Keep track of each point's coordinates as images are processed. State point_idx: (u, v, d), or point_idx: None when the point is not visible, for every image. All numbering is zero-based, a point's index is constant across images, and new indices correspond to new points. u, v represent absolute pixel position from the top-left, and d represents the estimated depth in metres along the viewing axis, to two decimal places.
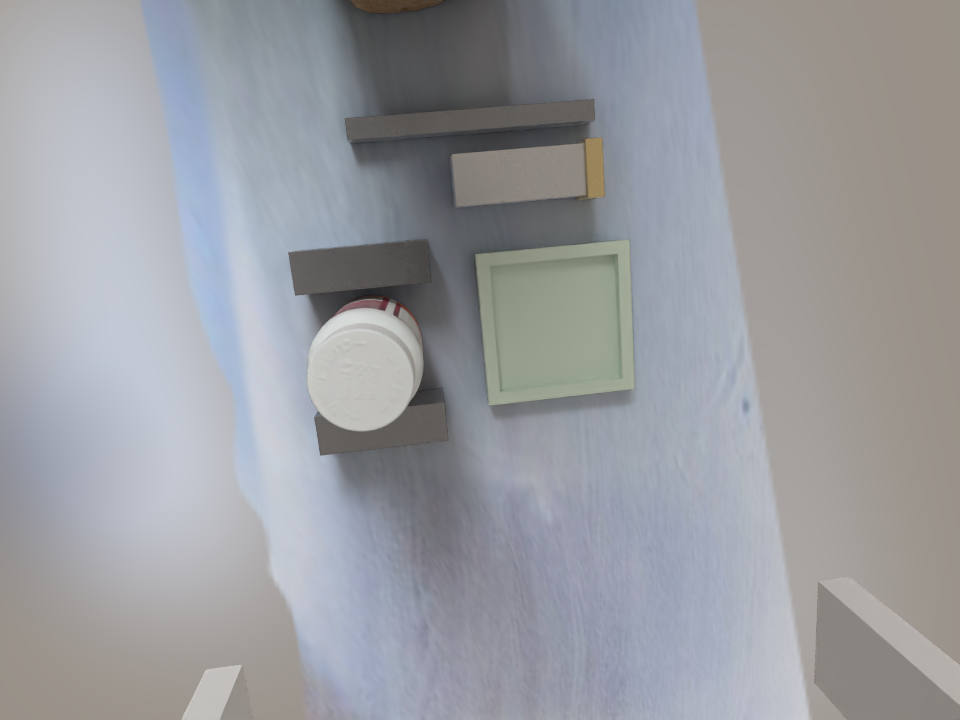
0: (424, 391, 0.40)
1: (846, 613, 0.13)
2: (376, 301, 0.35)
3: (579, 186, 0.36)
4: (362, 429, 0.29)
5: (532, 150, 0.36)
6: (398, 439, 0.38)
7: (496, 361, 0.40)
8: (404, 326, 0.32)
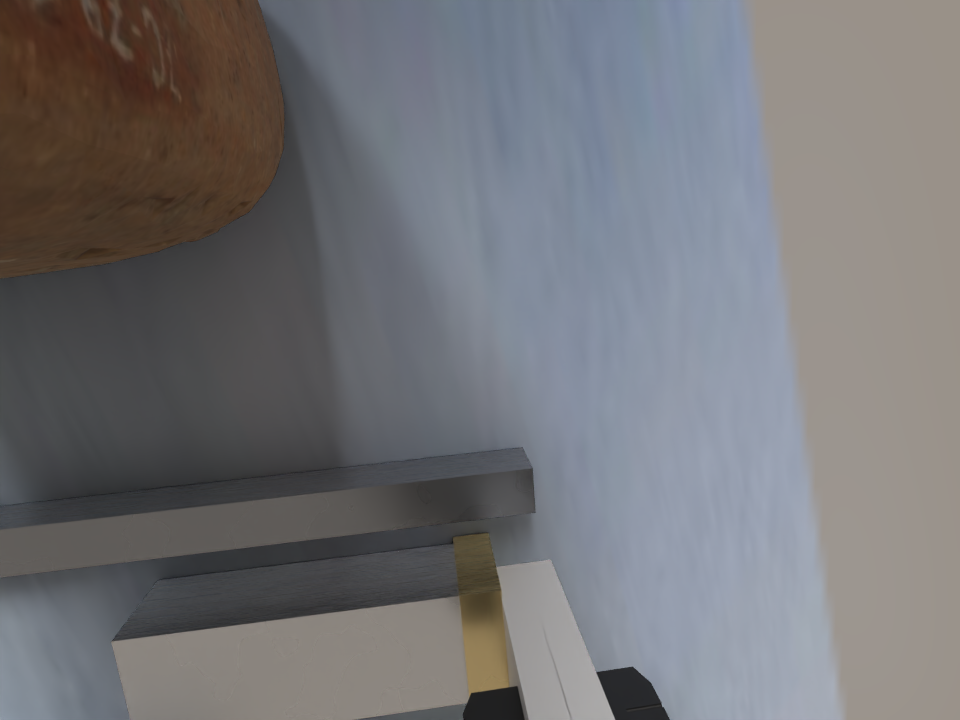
0: None
1: (529, 590, 0.15)
2: None
3: (450, 686, 0.15)
4: None
5: (325, 620, 0.14)
6: None
7: None
8: None
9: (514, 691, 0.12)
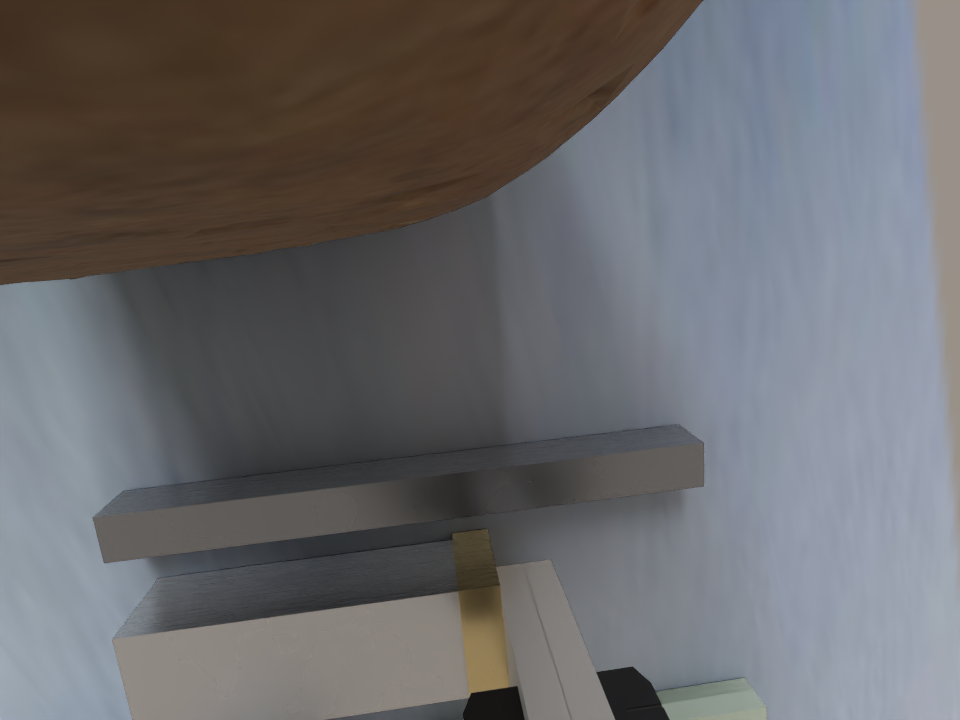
0: None
1: (529, 590, 0.15)
2: None
3: (450, 682, 0.15)
4: None
5: (325, 616, 0.14)
6: None
7: None
8: None
9: (514, 691, 0.12)
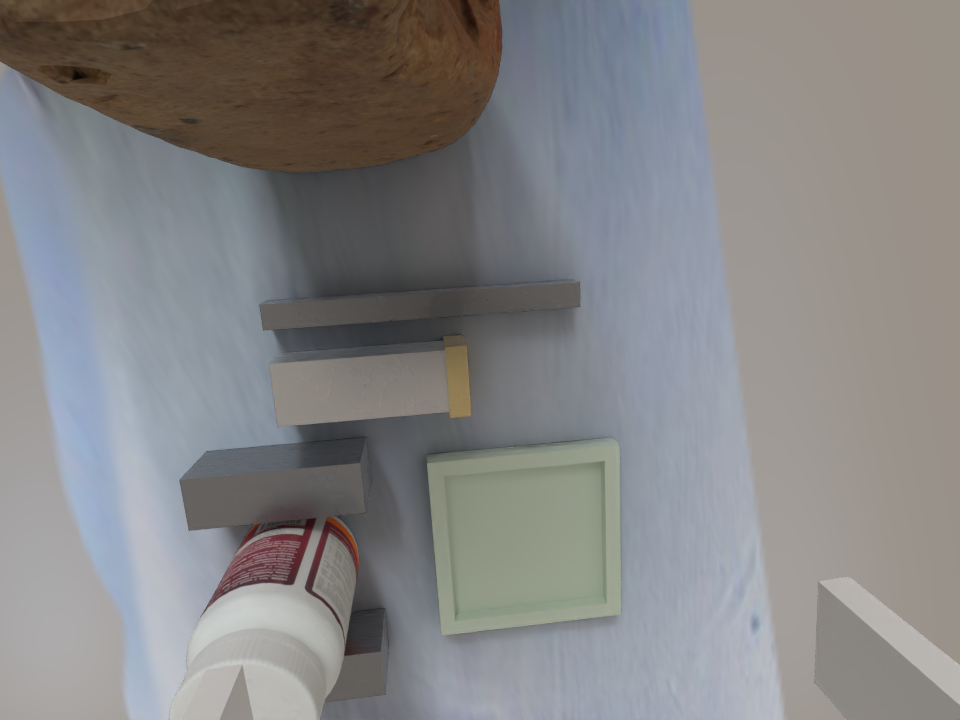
0: (361, 615, 0.33)
1: (846, 613, 0.13)
2: (293, 539, 0.28)
3: (439, 401, 0.28)
4: None
5: (376, 359, 0.28)
6: None
7: (450, 585, 0.32)
8: (317, 611, 0.24)
9: None
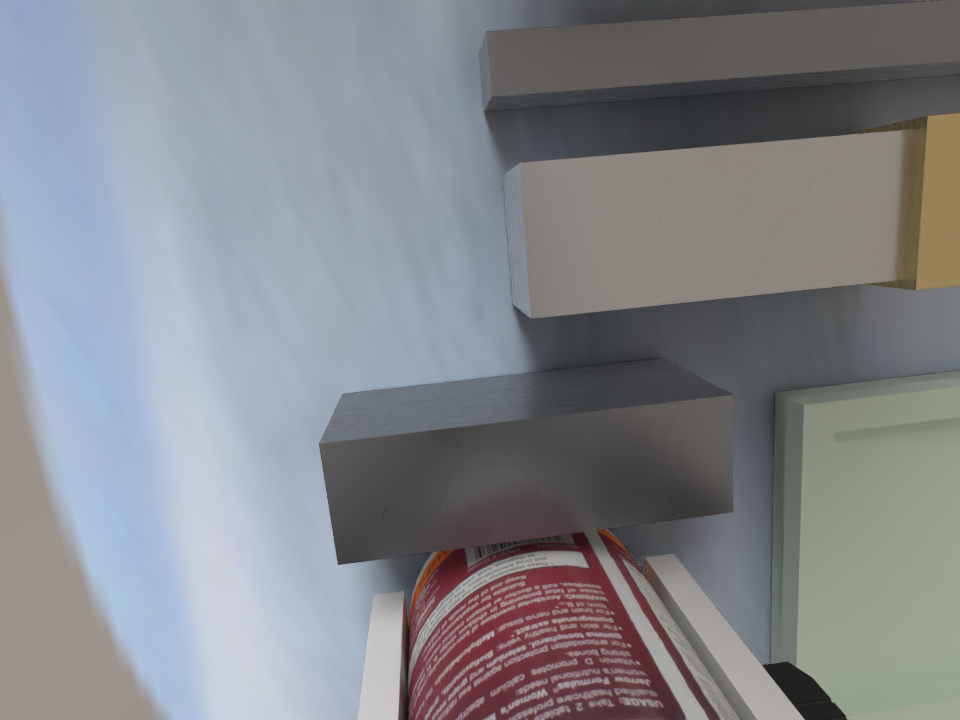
0: None
1: (659, 584, 0.14)
2: (580, 579, 0.12)
3: (887, 255, 0.12)
4: None
5: (762, 151, 0.12)
6: None
7: (822, 653, 0.16)
8: None
9: None
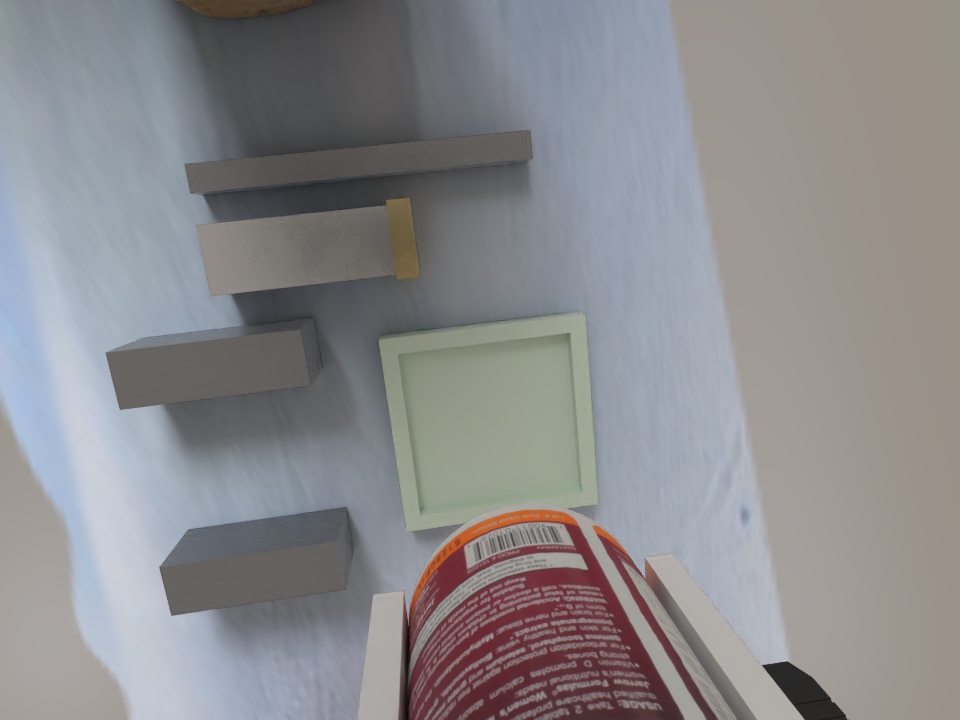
0: (321, 514, 0.31)
1: (659, 584, 0.14)
2: (580, 581, 0.12)
3: (384, 263, 0.26)
4: None
5: (312, 217, 0.26)
6: (277, 591, 0.28)
7: (413, 476, 0.30)
8: None
9: None
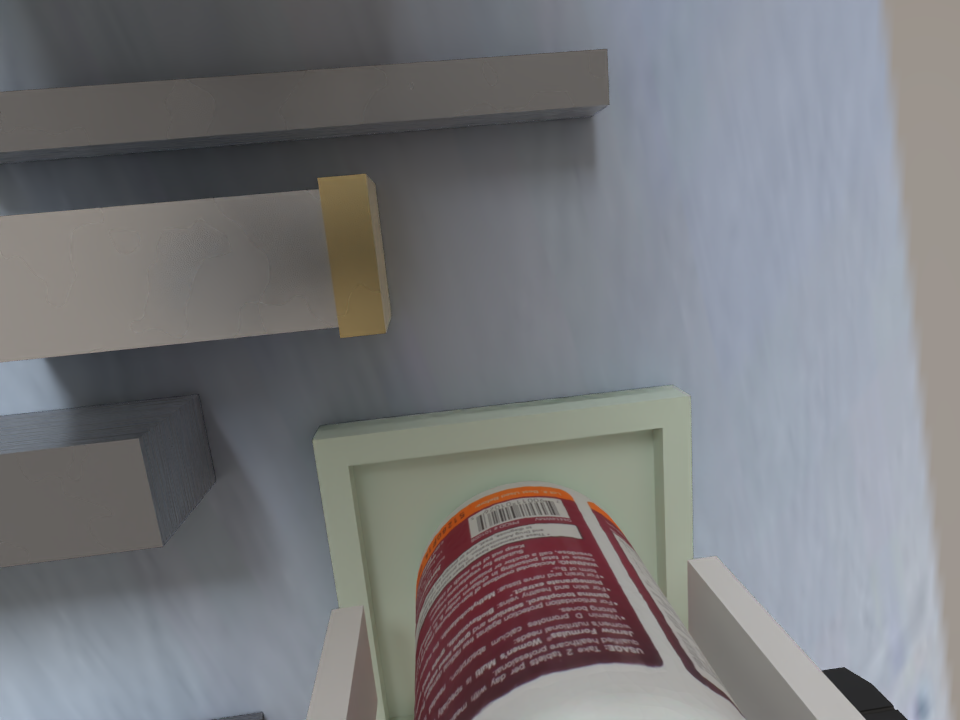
0: None
1: (704, 587, 0.14)
2: (574, 548, 0.13)
3: (317, 305, 0.13)
4: None
5: (169, 210, 0.13)
6: None
7: (375, 673, 0.17)
8: None
9: None
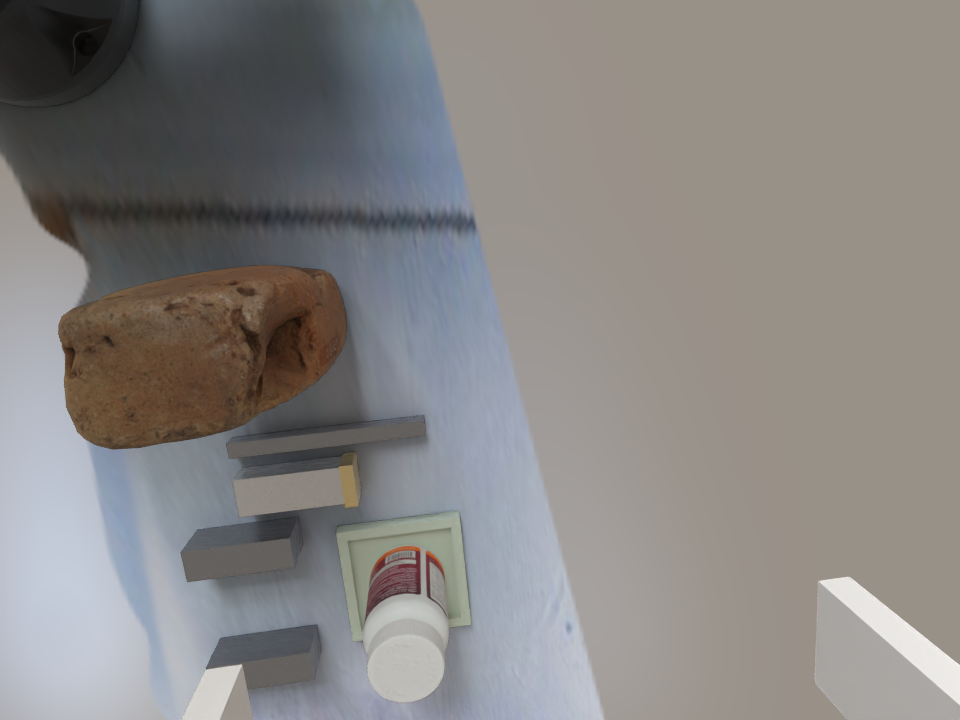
0: (301, 629, 0.50)
1: (846, 613, 0.13)
2: (411, 567, 0.46)
3: (338, 498, 0.46)
4: (406, 701, 0.40)
5: (297, 474, 0.45)
6: (274, 680, 0.48)
7: (356, 609, 0.50)
8: (436, 609, 0.42)
9: None
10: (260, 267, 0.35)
